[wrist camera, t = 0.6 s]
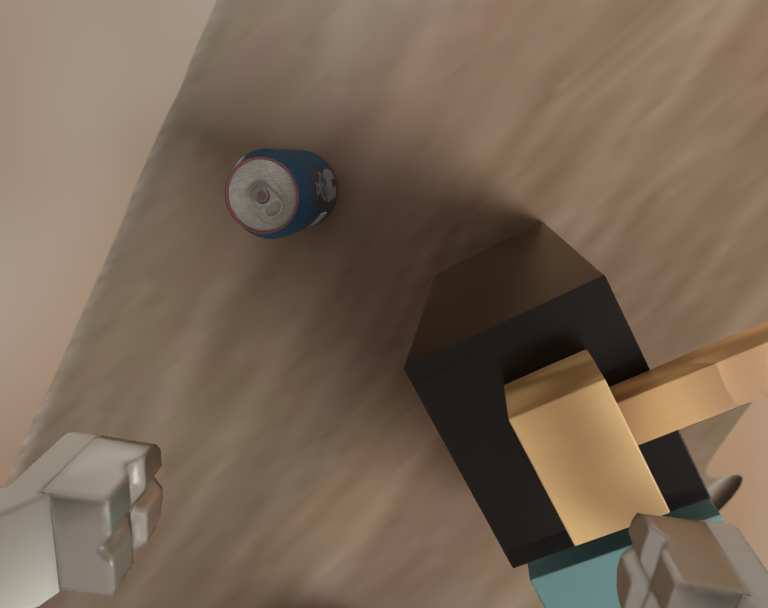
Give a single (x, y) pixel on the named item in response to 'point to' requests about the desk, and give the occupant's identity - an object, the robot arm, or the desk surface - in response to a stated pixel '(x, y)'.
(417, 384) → the shelf
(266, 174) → the soda can
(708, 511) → the stand
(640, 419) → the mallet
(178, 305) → the desk surface
